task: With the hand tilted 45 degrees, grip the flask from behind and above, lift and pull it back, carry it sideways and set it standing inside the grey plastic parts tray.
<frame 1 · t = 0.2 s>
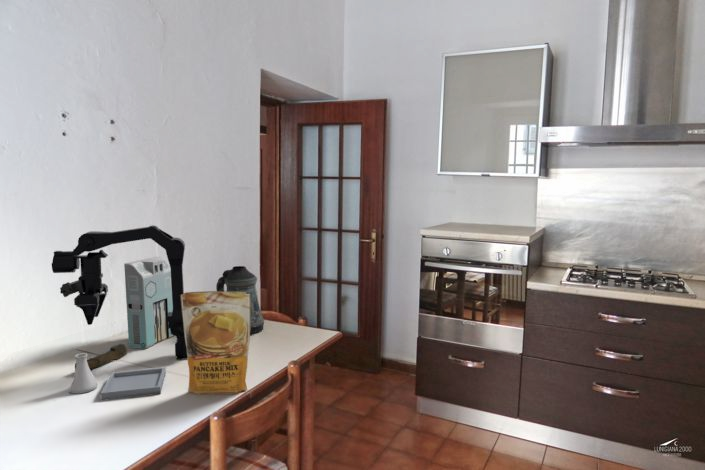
hand: (93, 320, 160), 15 cm above the table, tool pointing down, fingers open, 9 cm apart
light blue box: (153, 341, 185), on the table
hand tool: (102, 365, 162), on the table
pancake mix bag: (218, 390, 142), on the table
flask: (83, 389, 143), on the table
dark grey coffee pot: (239, 330, 198), on the table
parts tray: (135, 386, 144), on the table
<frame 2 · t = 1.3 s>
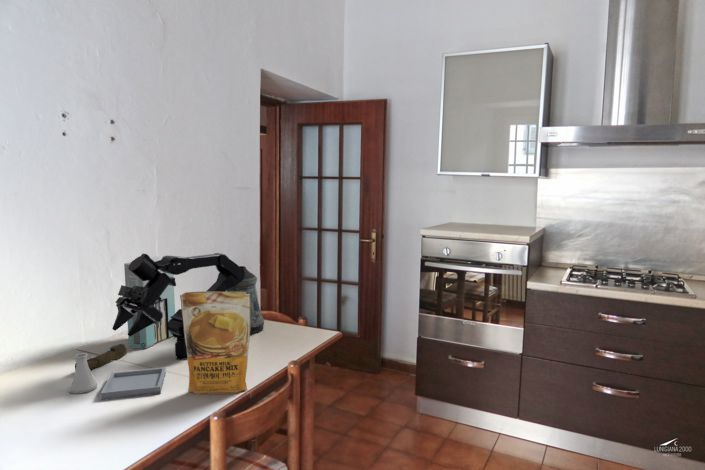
hand: (121, 332, 150), 14 cm above the table, tool tilted 45°, fingers open, 9 cm apart
nothing on the table moved.
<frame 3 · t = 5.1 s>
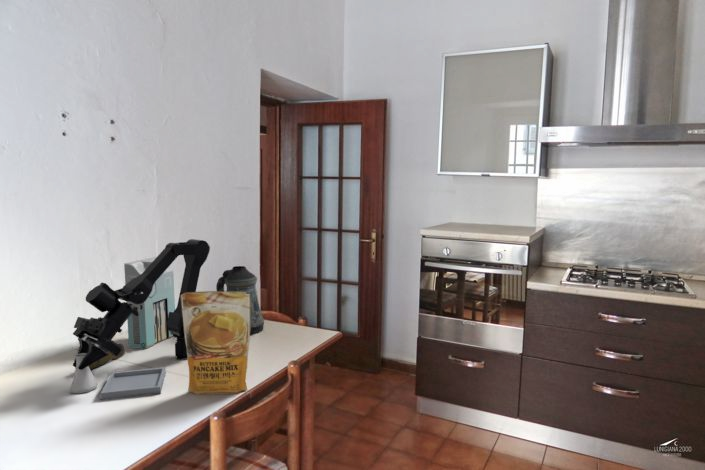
hand: (76, 367, 141), 7 cm above the table, tool tilted 45°, fingers closed on flask, 3 cm apart
flask: (83, 389, 143), on the table, touching gripper
everything else where it was.
when the fingers open (9 cm above the table, at t = 8.7 s): flask drops 1 cm, resting on parts tray.
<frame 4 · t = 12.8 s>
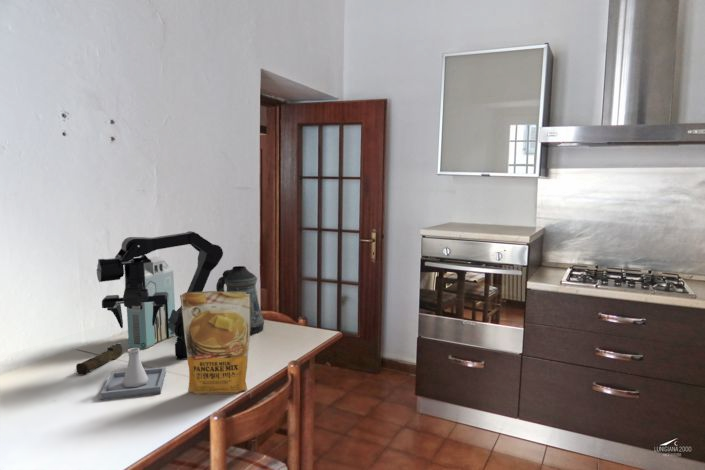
hand: (137, 326, 158), 13 cm above the table, tool pointing down, fingers open, 9 cm apart
flask: (135, 383, 145), point 1 cm above the table, touching parts tray
everything else where it was.
at the end: flask inside the target area on the parts tray (0.2 cm from its centre), point 0.6 cm above the parts tray's base; flask tilted 0°; the gripper is holding nothing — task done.
